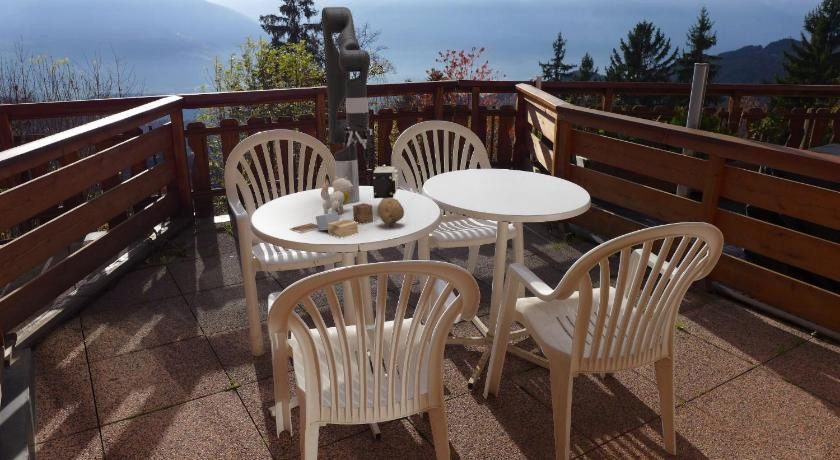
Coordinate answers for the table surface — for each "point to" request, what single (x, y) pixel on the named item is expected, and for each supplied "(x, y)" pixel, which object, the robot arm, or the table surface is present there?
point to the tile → (305, 228)
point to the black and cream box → (385, 182)
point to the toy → (336, 194)
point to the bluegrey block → (326, 220)
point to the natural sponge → (390, 211)
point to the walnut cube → (363, 213)
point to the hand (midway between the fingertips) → (359, 158)
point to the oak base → (343, 228)
